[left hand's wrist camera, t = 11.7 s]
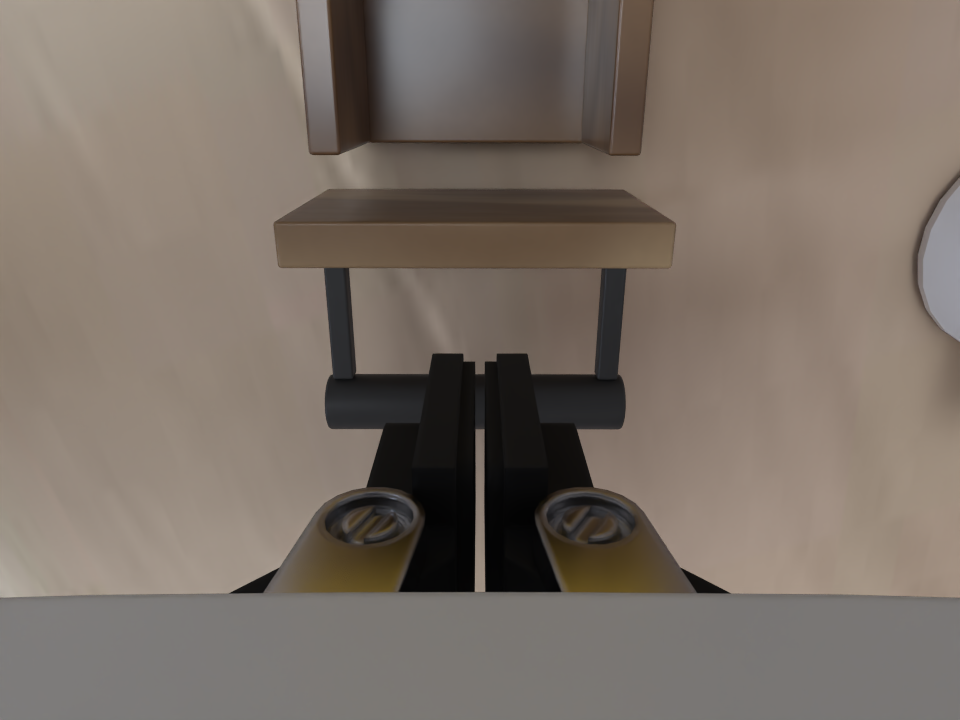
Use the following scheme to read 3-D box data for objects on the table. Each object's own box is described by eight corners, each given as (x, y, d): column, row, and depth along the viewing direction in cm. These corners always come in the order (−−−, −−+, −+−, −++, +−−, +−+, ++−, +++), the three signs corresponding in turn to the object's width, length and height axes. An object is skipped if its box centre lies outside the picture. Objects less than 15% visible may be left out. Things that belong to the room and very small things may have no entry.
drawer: (610, 367, 25) (652, 452, 19) (341, 366, 25) (297, 451, 19) (675, -446, 17) (783, -745, 11) (276, -447, 17) (164, -747, 11)
